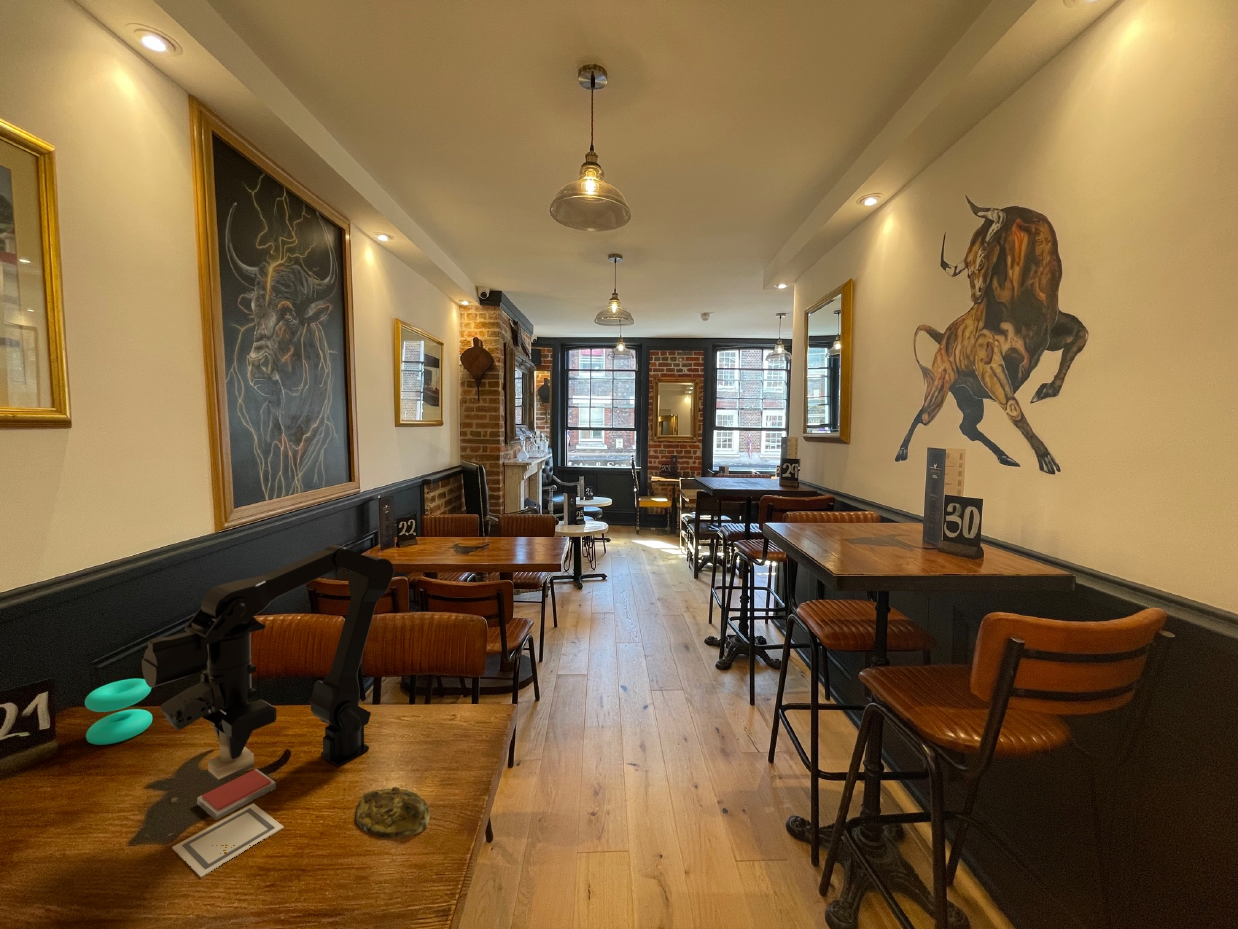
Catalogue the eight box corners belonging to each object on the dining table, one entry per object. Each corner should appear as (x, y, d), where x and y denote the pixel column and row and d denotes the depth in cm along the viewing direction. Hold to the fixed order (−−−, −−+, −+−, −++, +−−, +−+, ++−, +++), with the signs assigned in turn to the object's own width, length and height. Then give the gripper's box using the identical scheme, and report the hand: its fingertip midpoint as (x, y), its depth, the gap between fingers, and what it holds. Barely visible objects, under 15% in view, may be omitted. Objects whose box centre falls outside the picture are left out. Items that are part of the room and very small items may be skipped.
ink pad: (256, 775, 95) (256, 767, 95) (275, 788, 91) (275, 780, 91) (197, 804, 87) (197, 796, 87) (216, 820, 83) (215, 811, 83)
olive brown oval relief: (337, 826, 84) (405, 855, 79) (334, 801, 84) (402, 829, 78) (383, 785, 93) (447, 809, 87) (380, 762, 92) (445, 784, 86)
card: (253, 804, 87) (253, 802, 87) (283, 828, 82) (283, 826, 82) (172, 848, 78) (172, 846, 78) (201, 878, 73) (201, 876, 73)
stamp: (243, 758, 88) (242, 711, 88) (254, 766, 86) (253, 718, 85) (208, 774, 84) (207, 725, 83) (218, 783, 82) (217, 732, 81)
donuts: (76, 691, 104) (139, 672, 113) (77, 739, 105) (140, 716, 114) (96, 704, 100) (160, 683, 109) (97, 753, 100) (161, 728, 109)
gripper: (145, 665, 82) (147, 759, 83) (191, 699, 72) (192, 805, 73) (227, 643, 91) (228, 727, 92) (277, 670, 81) (278, 764, 82)
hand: (231, 754), depth 85 cm, fingers closed on stamp, 3 cm apart
